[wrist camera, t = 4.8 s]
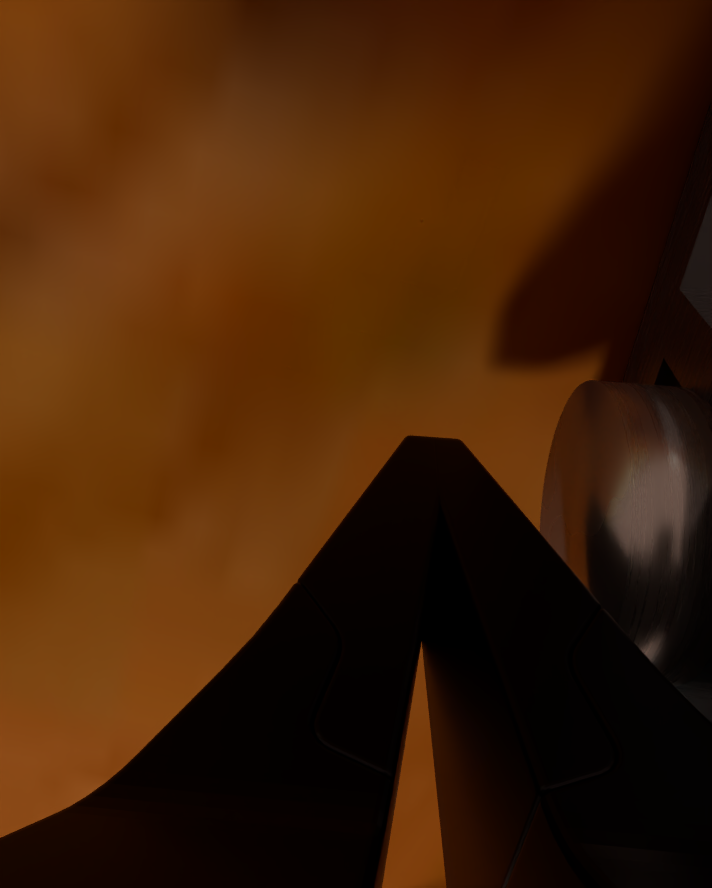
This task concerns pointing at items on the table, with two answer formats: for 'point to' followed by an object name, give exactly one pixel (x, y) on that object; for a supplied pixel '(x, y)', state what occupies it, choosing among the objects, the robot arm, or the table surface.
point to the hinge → (683, 321)
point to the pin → (638, 514)
